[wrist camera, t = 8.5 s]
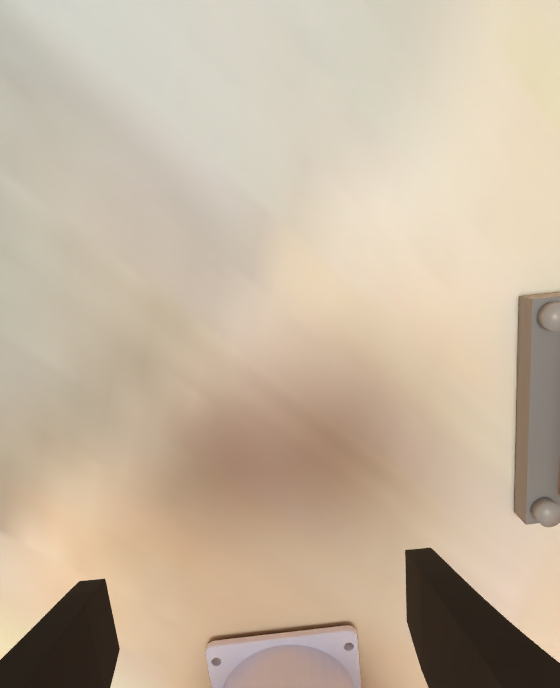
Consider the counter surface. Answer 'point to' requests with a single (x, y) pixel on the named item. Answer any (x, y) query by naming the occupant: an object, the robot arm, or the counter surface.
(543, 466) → the teal block with base
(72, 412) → the counter surface
